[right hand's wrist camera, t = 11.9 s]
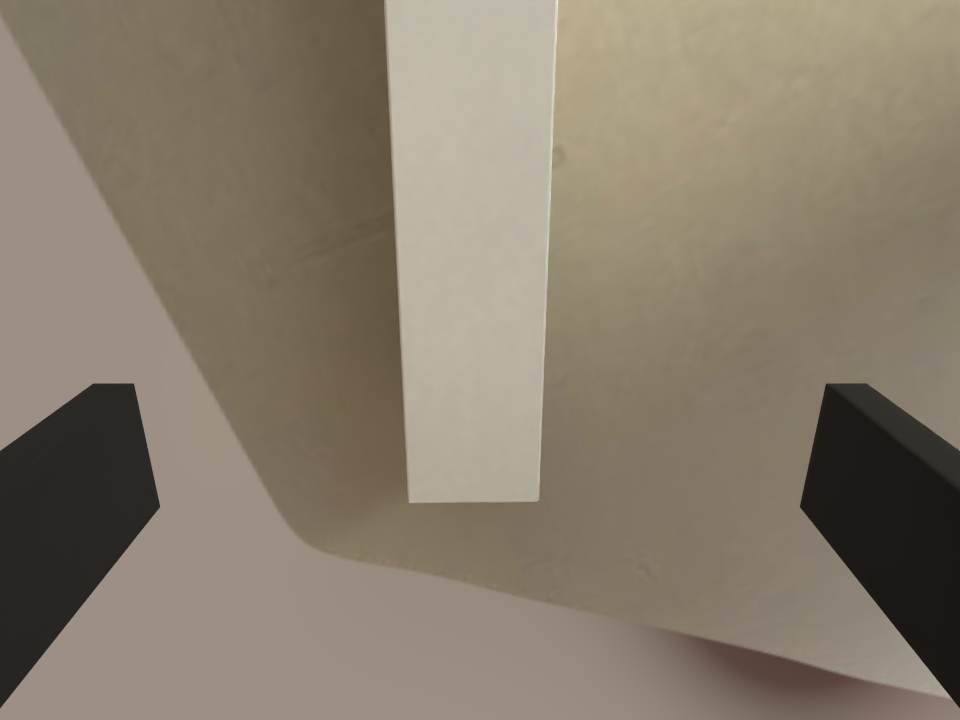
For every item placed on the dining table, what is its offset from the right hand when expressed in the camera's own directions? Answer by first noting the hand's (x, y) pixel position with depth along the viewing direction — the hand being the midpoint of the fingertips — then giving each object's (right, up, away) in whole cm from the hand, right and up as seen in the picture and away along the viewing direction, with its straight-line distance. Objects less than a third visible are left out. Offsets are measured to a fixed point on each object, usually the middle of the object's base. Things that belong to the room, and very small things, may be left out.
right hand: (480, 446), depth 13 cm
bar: (0, +27, +7) cm, 28 cm away
